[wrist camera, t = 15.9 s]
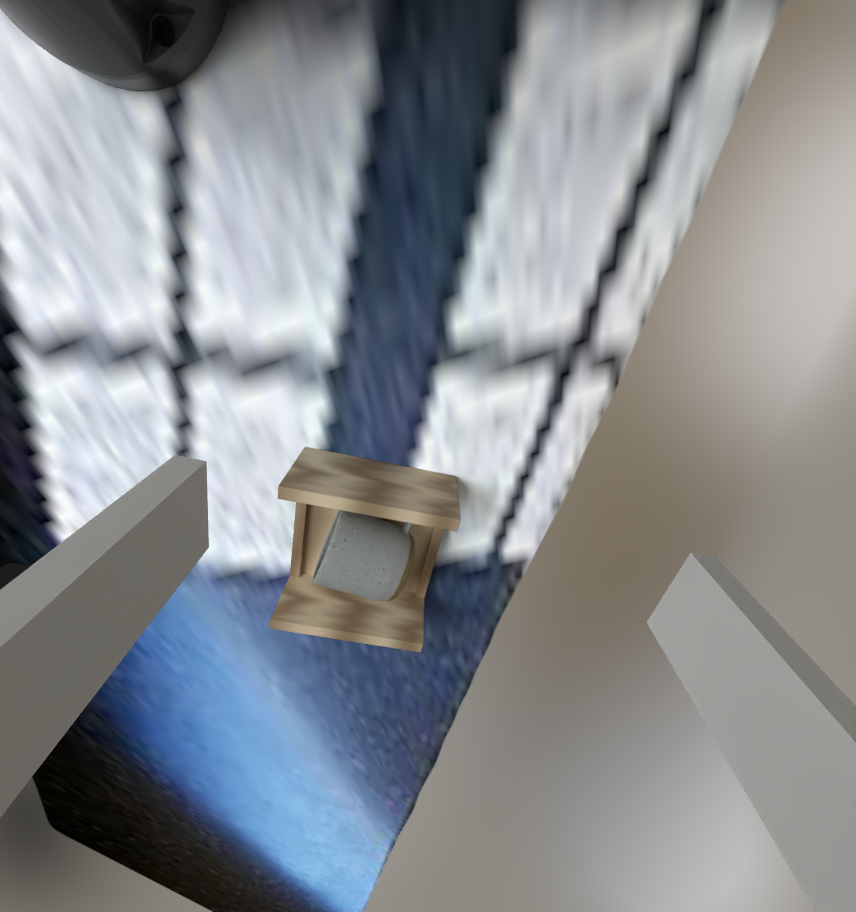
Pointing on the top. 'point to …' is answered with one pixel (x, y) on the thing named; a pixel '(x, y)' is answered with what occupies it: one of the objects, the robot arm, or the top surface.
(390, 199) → the top surface
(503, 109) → the top surface
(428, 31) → the top surface
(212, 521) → the top surface
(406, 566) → the ceramic mug
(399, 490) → the holder
